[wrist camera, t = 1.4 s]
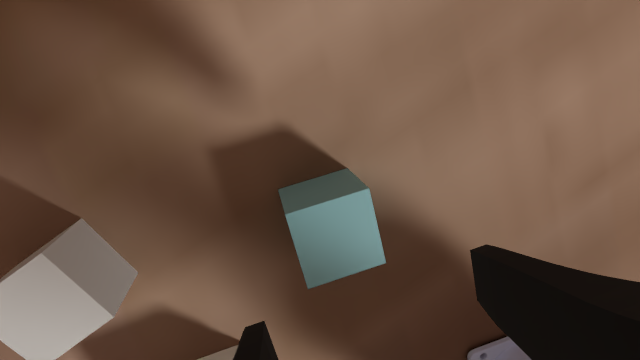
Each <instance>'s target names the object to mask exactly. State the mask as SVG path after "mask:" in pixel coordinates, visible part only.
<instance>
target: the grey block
mask: <svg viewBox="0 0 640 360" xmlns="http://www.w3.org/2000/svg"><path fill="white" fill-rule="evenodd" d="M137 274H138V272H137V271H136V270H135V269H134V268H133V267H132V266H131V265H130V264H129V263H128V262H127V261H126V260H125V259H124V258H123V257H122V256H121V255H120V254H118V253H117V252H116V251H115V250H114V249H113V248H112V247H111V246H110V245H109V244H108V243H107V242H106V241H105V240H104V239H103V238H102V237H101V236H100V235H99V234H98V233H97V232H96V231H95V230H94V229H92V228H91V227H90V226H89V225H88V224H87V223H86V222H85V221H84V220H83V219H82V218H81V219H80V220H78V221H77V222H76V223H74V224H73V225H71V226H70V227H69V228H67V229H66V230H65V231H63V232H62V233H60V234H59V235H58V236H56V237H55V238H54V239H52V240H51V241H49V242H48V243H47V244H45V245H44V246H42V247H41V248H40V249H38V250H37V251H36V252H34V253H33V254H31V255H30V256H29V257H27V258H26V259H25V260H23V261H22V262H20V263H19V264H18V265H16V266H15V267H14V268H13V269H12V270H10V271H9V272H8V273H7V274H6V275H4V276H3V277H2V278H1V279H0V340H1V341H2V342H3V343H5V344H6V345H7V346H9V347H10V348H11V349H13V350H14V351H15V352H17V353H18V354H19V355H21V356H22V357H23V358H25V359H26V360H55V359H57V358H58V357H60V356H61V355H62V354H64V353H65V352H66V351H68V350H69V349H71V348H72V347H73V346H75V345H76V344H77V343H79V342H80V341H82V340H83V339H84V338H86V337H87V336H89V335H90V334H91V333H93V332H94V331H95V330H97V329H98V328H100V327H101V326H102V325H104V324H105V323H106V322H108V321H109V320H111V319H112V318H113V317H114V316H115V314H116V312H117V311H118V309H119V307H120V305H121V303H122V301H123V300H124V298H125V296H126V294H127V292H128V290H129V289H130V287H131V285H132V283H133V281H134V280H135V278H136V276H137Z"/></svg>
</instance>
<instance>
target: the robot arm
mask: <svg viewBox="0 0 640 360" xmlns="http://www.w3.org/2000/svg"><path fill="white" fill-rule="evenodd" d="M470 252H471V259H472V266H473V273H474V280H475V287H476V294H477V300H478V302H479V303H480V304H481V306H482V307H483V308H484V310H485V311H486V312H487V314H488V315H489V316H490V317H491V318H492V320H493V321H494V322H495V323H496V325H497V326H498V327H499V328H500V329H501V330H502V331H503V332H504V333H505V334H506V335H507V336H508V337H505V338H502V339H499V340H497V341H494V342H491V343H489V344H486V345H483V346H481V347H478V348H475V349H473V350H471V351H470V352H469V353H468V355H467V359H468V360H640V282H635V281H629V280H623V279H618V278H612V277H607V276H602V275H597V274H592V273H588V272H584V271H580V270H576V269H572V268H568V267H564V266H560V265H556V264H553V263H549V262H546V261H542V260H539V259H536V258H532V257H529V256H526V255H522V254H519V253H516V252H512V251H509V250H506V249H502V248H499V247H495V246H491V245H484V246H481V247H478V248H475V249H472V250H470ZM481 354H482V355H481ZM233 360H278V357H277V355H276V352H275V349H274V346H273V344H272V341H271V338H270V335H269V333H268V330H267V327H266V324H265V322H264V321H262V322H259V323H256V324H253V325H251V326H248V327H245V329H244V331H243V334H242V336H241V339H240V342H239V345H238V347H237V350H236V353H235V355H234V358H233Z"/></svg>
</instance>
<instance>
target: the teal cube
mask: <svg viewBox="0 0 640 360" xmlns="http://www.w3.org/2000/svg"><path fill="white" fill-rule="evenodd" d="M278 191H279V195H280V198H281V202H282V206H283V209H284V213H285V216H286V219H287V223H288V226H289V229H290V232H291V236H292V239H293V242H294V245H295V249H296V252H297V255H298V258H299V262H300V265H301V268H302V271H303V275H304V278H305V281H306V284H307V288H308V289H310V288H313V287H316V286H319V285H322V284H325V283H328V282H331V281H334V280H337V279H340V278H343V277H346V276H349V275H352V274H355V273H358V272H361V271H364V270H367V269H370V268H373V267H376V266H379V265H382V264H385V263H386V260H385V256H384V252H383V247H382V243H381V238H380V234H379V229H378V225H377V221H376V216H375V212H374V207H373V203H372V198H371V194H370V190H369V188H368V187H367V186H366V185H365V184H364V183H363V182H362V181H361V180H360V179H359V178H357V177H356V176H355V175H354V174H353V173H352V172H351V171H350V170H349V169H348V168H346V169H343V170H340V171H336V172H333V173H330V174H327V175H323V176H320V177H317V178H313V179H310V180H307V181H304V182H300V183H297V184H294V185H290V186H287V187H284V188H281V189H278Z"/></svg>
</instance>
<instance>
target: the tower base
mask: <svg viewBox="0 0 640 360" xmlns="http://www.w3.org/2000/svg"><path fill="white" fill-rule="evenodd" d="M237 347H238V345H236V346H233V347H230V348H227V349H225V350H222V351H219V352H216V353H214V354H211V355H208V356H205V357H202V358H200V359H197V360H233V358H234V355H235V353H236V350H237Z"/></svg>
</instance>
